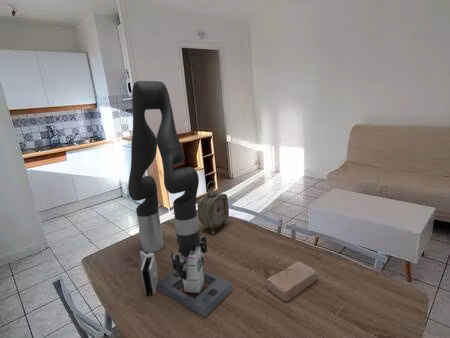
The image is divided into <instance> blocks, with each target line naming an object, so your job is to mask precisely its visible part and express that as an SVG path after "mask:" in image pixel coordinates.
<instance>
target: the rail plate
mask: <svg viewBox="0 0 450 338" xmlns="http://www.w3.org/2000/svg"><path fill="white" fill-rule="evenodd" d="M203 272H204V279H205V282H206V283H208V284H210V285H209V286H207V288H206V289H204V290H203V291H201V292H200V293H199V294H198V295H197V296H196V297H195V298H194V297H191V296H190V295H188V294H186V293H185V292H182V291H180V290H179V289H180V288H182V287H184V285H183V279H182V278H180V273H179V272H178V271H176V270H174V271H172V272H170V273H169V274H168V275H166V276H165V277H164V278H162V279H160V280H158V283H157V287H158V291H160V292H161V293H163V294H164V295H166V296H168V297H169V298H171V299H173V300H174V301H176V302H178V303H179V304H181V305H183V306H184V307H186V308H188V309H190V310H191V311H193V312H195V313H196V314H198V315H199V316H201V317H203V318H207V316H208V315H210V313H211V312H213V310H214V309H216V308H217V307H218V305H219V304H221V302H222V301H224V299H226V297H228V296H229V295H230V294H231V293H232V291H233V283H232V282H230V281H228V280H226V279H224V278H221V277H219V276H218V275H215V274H213V273H210V272H209V271H206V270H204V269H203Z"/></svg>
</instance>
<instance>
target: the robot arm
mask: <svg viewBox="0 0 450 338" xmlns="http://www.w3.org/2000/svg"><path fill="white" fill-rule="evenodd" d="M168 91H169V90H168V88H167V86H166V84H165V83H164V82H162V81H158V80H155V81H154V80H149V81H148V80H137V81H135V82H134V83H133V85H132V91H131V94H132V95H131V100H132V101H131V102H132V105H131V106H132V134H131V148H130V149H131V150H130V152H131V153H130V154H131V155H130V156H131V159H130V160H131V162H130V172H129V177H128V184H127V187H128V188H127V191H128V194H129V197H130V199H131V201H132V200H133V201H135V202H138V201H142V203H140V204H139V205H138V206H137V207H136V210H135V213H136V217H137V222H138V232H139V239H140V244H141V248H142V251H143V252H144V253H156V252H158V251H160V250H161V249H163V247H164V239H163V237H164V236H163V233H162V232H163V231H162V225H161V218H160V212H159V211H160V210H159V198H158V187H157V183H156V180H155V178H154V177H153V176H151V175H146V176H144V174H145V173H146V172H147V170H148V169H149V167H151V165H152V164H153V162H154V161H155V158H156V157H157V149H158V150H159V155H160V156H161V157H160V158H161V160H162V166H163V185H164V189H165V190H166V191H167V192H168V193H169V194H172V195H176V194H179V193H182V192H184V193H182V195H180V196H178V197H177V198H175V199H174V201H173V203H172V204H173V205H172V207H173V214H174V228H175V235H176V236H175V237H176V243H177V245H178V251H177V252H172V253H171V255H170V256H171V262H172V270H174V271H175V270H176V271H178V272H179V273H180V278H182V279H184V280H186V279H187V274H186V269H185V268H186V265H187V264H188V263H189V255H191V254H192V252H193V251H194V250H196V251H197V250H198V249H199V246H200V248H201V250H200V254H201V255H202V263H203V265H204V264H205V260H204V257H205V254H206V253H208V245H207V237H206V236H203V235H200V234H201V233H200V224H199V223H200V222H199V217H198V211H197V205H196V202H197V196H198V195H197V194H198V189H199V183H200V182H199V181H200V178H199V174H198V172H197V170H196V169H195V168H194V167H191V166H187V167H183V168H182V167H181V168H178V169H174V166H177V165H179V164H181V163H182V162H183V161H184V160H185V156H186V155H185V153H184V150H183V147H182V144H181V141H180V139H179V136H178V133H177V129H176V124H175V118H174V114H173V109H172V108H173V107H172V103H171V99H170V95H169V92H168ZM146 110H147V111H148V110H149V111H150V110H159V111H160V115H161V120H160V124H159V128H158V131H157V133H156V134H155V133H154V131H153V130H152V128H151V127H150V126H149V124H148V122H147V120H146V114H145V113H146ZM180 255H183V256H184V257H185V258H186V260H183V259H181V258H180ZM182 262H183V266H182Z"/></svg>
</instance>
